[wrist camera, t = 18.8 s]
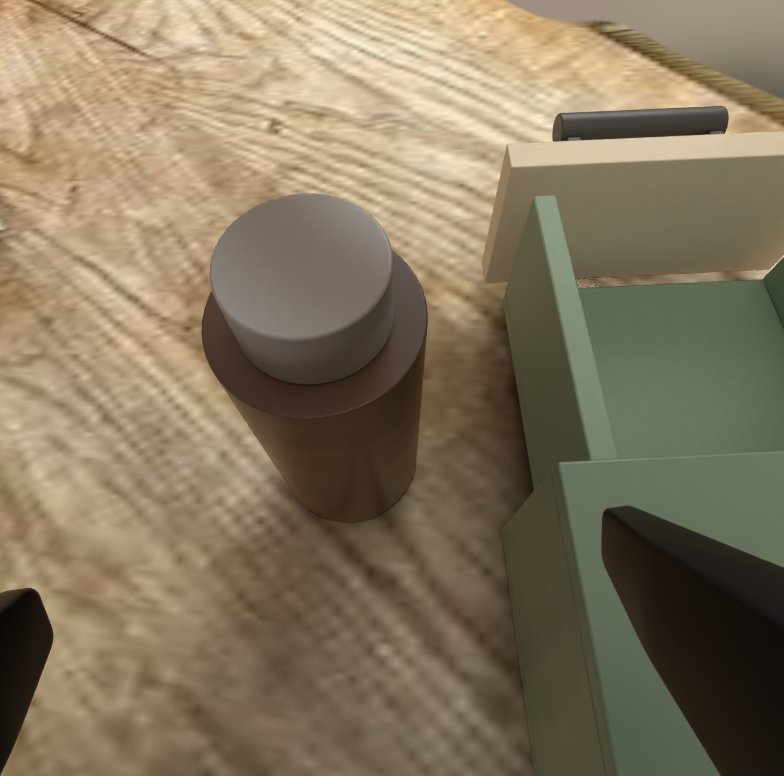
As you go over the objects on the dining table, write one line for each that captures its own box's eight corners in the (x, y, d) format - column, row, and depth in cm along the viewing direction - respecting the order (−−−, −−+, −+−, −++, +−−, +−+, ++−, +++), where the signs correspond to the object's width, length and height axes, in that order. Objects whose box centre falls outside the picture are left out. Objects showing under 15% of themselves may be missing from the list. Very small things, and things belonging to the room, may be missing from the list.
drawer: (471, 196, 28) (491, 67, 22) (732, 184, 28) (824, 53, 22) (526, 557, 20) (580, 516, 14) (886, 538, 20) (1096, 489, 14)
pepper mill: (351, 552, 21) (295, 433, 10) (257, 461, 22) (114, 269, 11) (442, 452, 23) (485, 251, 11) (349, 374, 24) (304, 131, 13)
